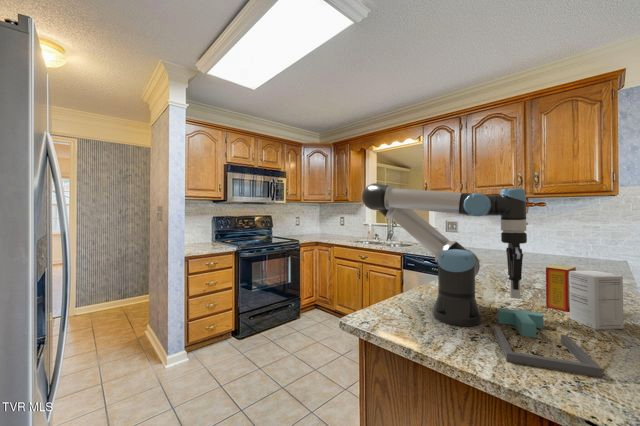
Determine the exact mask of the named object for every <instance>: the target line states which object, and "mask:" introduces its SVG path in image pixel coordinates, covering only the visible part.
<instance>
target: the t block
mask: <svg viewBox="0 0 640 426" xmlns="http://www.w3.org/2000/svg"><path fill="white" fill-rule="evenodd" d="M496 309H497V313H496V314H497V316H496V317H497V321H498V323H499V324H503V325H513V326H515V328H516V329H517V331H518V333H519V334H520V336H521V337H526V338H527V337H528V338H533V339H536V338H537V329H544V328H545V327H544V326H545V325H544V315H543V314H542V313H541V312H537V311H531V310H529V311H528V310H518V309H513V308H512V309H509V308H501V307H497V308H496Z"/></svg>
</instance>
